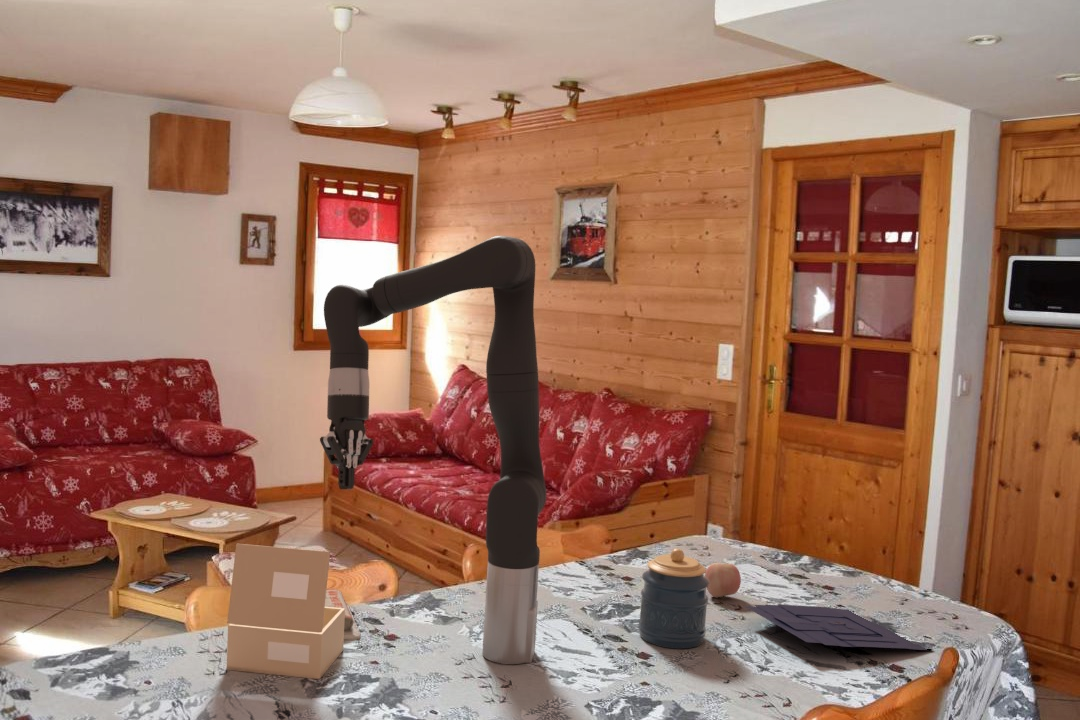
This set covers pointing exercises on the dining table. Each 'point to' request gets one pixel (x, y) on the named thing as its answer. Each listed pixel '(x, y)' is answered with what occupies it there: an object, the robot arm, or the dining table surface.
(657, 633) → the canister
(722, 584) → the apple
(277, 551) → the lid
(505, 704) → the dining table surface
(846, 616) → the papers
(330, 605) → the packaged product
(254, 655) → the mailer box
